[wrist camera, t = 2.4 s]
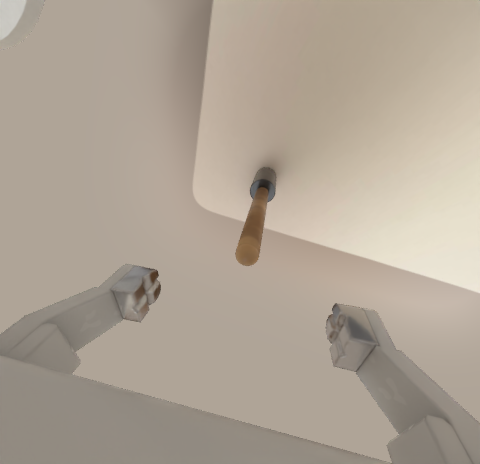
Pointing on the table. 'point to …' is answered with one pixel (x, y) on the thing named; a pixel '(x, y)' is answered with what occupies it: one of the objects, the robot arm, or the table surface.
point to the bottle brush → (256, 217)
